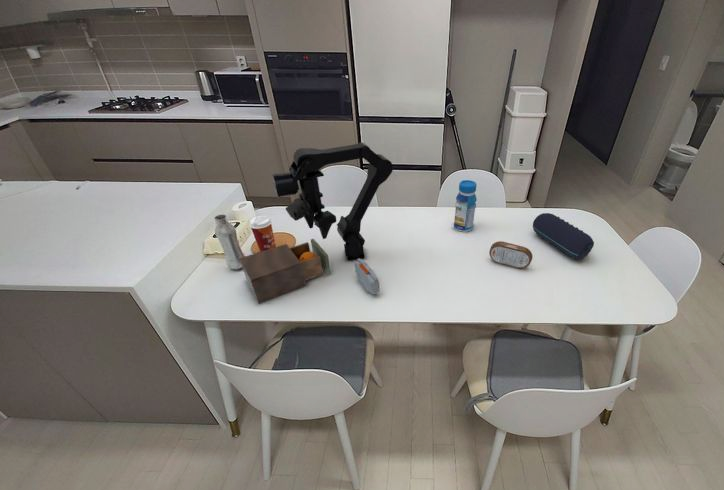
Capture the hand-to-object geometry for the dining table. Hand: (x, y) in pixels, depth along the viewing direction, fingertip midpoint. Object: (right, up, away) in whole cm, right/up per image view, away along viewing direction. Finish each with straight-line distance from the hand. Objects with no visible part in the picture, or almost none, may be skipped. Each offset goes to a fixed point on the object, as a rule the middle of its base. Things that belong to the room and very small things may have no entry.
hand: (317, 233), depth 120 cm
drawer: (-5, -13, +3) cm, 14 cm away
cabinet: (-14, -17, -1) cm, 22 cm away
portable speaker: (+91, -3, +18) cm, 92 cm away
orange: (-2, -10, +3) cm, 11 cm away
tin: (+68, -11, +8) cm, 69 cm away
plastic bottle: (-30, -11, +6) cm, 33 cm away
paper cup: (-22, -6, +14) cm, 27 cm away
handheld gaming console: (+17, -18, -2) cm, 25 cm away
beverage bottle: (+54, +5, +30) cm, 62 cm away
